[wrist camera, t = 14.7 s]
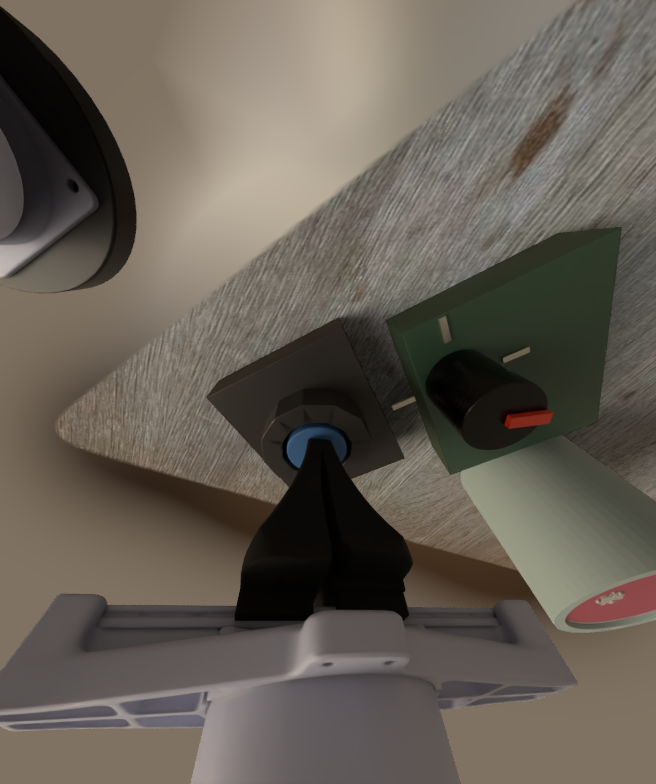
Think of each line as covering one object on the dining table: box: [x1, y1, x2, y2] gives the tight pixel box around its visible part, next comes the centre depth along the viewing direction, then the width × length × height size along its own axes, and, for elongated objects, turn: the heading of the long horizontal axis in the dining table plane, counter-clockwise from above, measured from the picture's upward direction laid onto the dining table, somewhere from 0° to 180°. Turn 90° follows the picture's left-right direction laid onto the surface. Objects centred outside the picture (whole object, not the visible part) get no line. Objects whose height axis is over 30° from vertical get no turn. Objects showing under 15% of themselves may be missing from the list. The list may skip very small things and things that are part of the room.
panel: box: [386, 227, 621, 475], centre depth 15 cm, size 12×12×3 cm
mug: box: [460, 435, 656, 633], centre depth 18 cm, size 14×9×10 cm
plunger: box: [287, 423, 347, 468], centre depth 15 cm, size 4×4×2 cm
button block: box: [207, 318, 404, 487], centre depth 16 cm, size 11×9×4 cm
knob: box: [426, 350, 554, 450], centre depth 11 cm, size 4×4×4 cm
